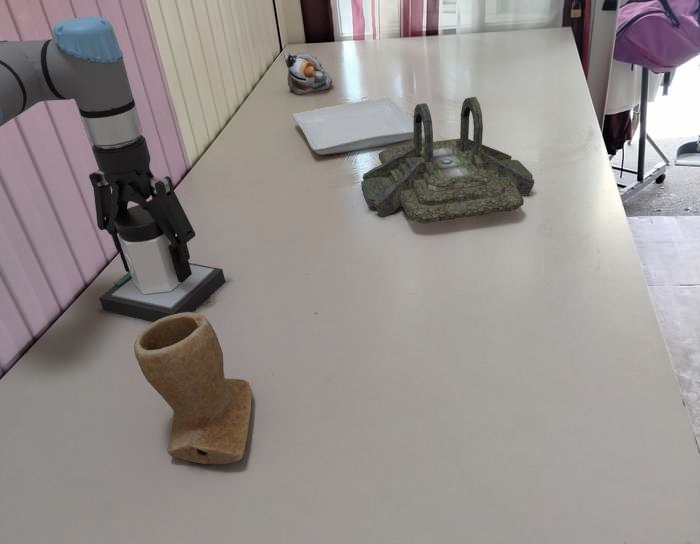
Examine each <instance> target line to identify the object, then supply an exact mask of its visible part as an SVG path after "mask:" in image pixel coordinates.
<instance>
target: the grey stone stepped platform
mask: <svg viewBox="0 0 700 544" xmlns="http://www.w3.org/2000/svg"><path fill="white" fill-rule="evenodd" d="M413 111H414V112H413V119H414V120H413V121H414V138H413V143H412V144H408V145H400V146H393V147H387V148H385V149H382V150H381V151H380V152H379V153H378V160H379V161H380V163H381V164H379V165H377V166H375V167H373V168H372V169H370V170H368V171H366V172H365V173H363V175H362V181H361V182H360V185H361V186H360V187H361V191H362V193H363V196H364V199H365V202H366V203H367V205H368V206H369V207H374V208H375V210H376V212H377V214H378V216H381V218H383V217H386V216H387V215H390V214H392V213H395V211H396V210H397V209H398V208H399V207H402V208H403V209H404V211H405V213H406V214H407V216H408V218H409V220H410V221H412V222H414V223H420V224H424V225H427V224H433V223H438V222H446V221H453V220H460V219H465V218H466V219H468V218H474V217H481V216H488V215H494V214H501V213H508V212H514V211H515V212H516V211H518V210H519V209H520V208H521V207H522V206H524V201H525V199H524V198H523V196H530V194H531V191H532V189H533V188H534V185H535V179H534V177H533V176H534V175H533V174H532V173H531V171H530V170H528V169H527V167H525V165H524V164H522V162H521V161H520V160H518V159H512V158H513V156H512V155H509V154H508V153H505V152H503V151H500V150H498V149H495V148H492V147H489V146H487V145H485V144H483V133H484V124H483V123H484V122H483V111H482V108H481V104H480V102H479V100H478V98H477V96H471V97H466V98H464V100H463V102H462V105H461V111H460V128H459V129H460V131H459V138H452V139H450V138H449V139H444V140H443V139H442V140H437V141H434V129H433V118H432V115H431V111H430V109H429V106H428V103H426V102H425V103H418V104H416V105H415V107H414V110H413ZM470 114H471V116H472V119H473V120H472V122H473V123H472V124H473V137H472V139H470V138H469V137H470V136H469V135H470ZM422 128H423V129H424V130H423V131H422ZM423 136H424V137H423ZM423 139H424V140H423Z"/></svg>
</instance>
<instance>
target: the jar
mask: <svg viewBox="0 0 700 544" xmlns="http://www.w3.org/2000/svg"><path fill="white" fill-rule="evenodd" d="M114 222H115V227H116V230H117V236H118V238H119V241H120V244H121V247H122V250H123V253H124V256H125V259H126V262H127V265H128V268H129V271H130V274H131V277H132V279H133V282H134V284H135V285H136V286H137V287H138V289H139V290H140V291H141V292H142V293H143V294H152V293H161V292H170V291H172V290H173V289H174V288H175V287H177V286H178V285H179V284H180V283H181V282H178V279H177V275H176V272H175V268H174V265H173V262H172V258H171V255H170V251H169V248H168V246H169V245H170V244H171V242H170V241H169V239H168V238H167V237H166V235H165V234H164V233H163V231H162V230H161V229H160V227H159V226H158V225H157V223H156V222H155V221H154V219H153V218H152V217H151V215H150V214H149V212H148V211H147V210H144V209H142V207H141V206H140V205H139V204H137V205H134V206H130V207H127V209H126V210H124V211H123V212H121V213H120V214H118V215H117V216H116V217H115V220H114ZM175 236H177V234H176V235H175Z"/></svg>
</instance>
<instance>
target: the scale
mask: <svg viewBox="0 0 700 544" xmlns="http://www.w3.org/2000/svg"><path fill="white" fill-rule="evenodd" d="M189 265H190V268H191V272H192V275H190V276H189V277H188V278H187V279H186V280H185V281H184V282H182V283H180V284H179V285H178V286H177V287H175V288H174V289H173V290H172V291H170V292H161V293H152V294H143V293H142V292H141V291H140V290H139V289H138V287H137V286H136V285H135V284H134V282H133V279H132V277H131V274H130V272H127V273H125V274H124V275H123V276H121V277H120V278H119V279H118V280H116V281H115V282H114V283H113V284H114V285H113V286H112V287H111V288H109V289H108V290H107V291H106V292H104V293H103V294H102V295H100V296H98V299H99V302H100V304H101V307H102V310H103V311H105V312H110V313H114V314H118V315H123V316H127V317H132V318H137V319H141V320H144V321H149V322H152V323H154V322H155V321H157V320H159V319H161V318H164V317H167V316H170V315H174V314H178V313H185V312H193V313H194V311H195V310H197V308H199V307H200V306H201V305H202V304H203V303H204V302H205V301H206V300H207V299H208V298H209V297H210V296H212V295H213V293H215V292H216V291H217V290H218V289H219V288H220V287H221V286H222V285H223V284H224V283H225V282H226V279H225V275H224V270H223V268H219V267H214V266H208V265H202V264H197V263H192V262H189Z"/></svg>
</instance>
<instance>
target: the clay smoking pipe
mask: <svg viewBox="0 0 700 544" xmlns="http://www.w3.org/2000/svg"><path fill="white" fill-rule="evenodd" d="M133 349H134V350H133V351H134V357H135V359H136V361H137V364H138V366H139V368H140V371H141V373H142V374H143V377H144V378H145V380H146V381H147V382H148V383H149V384H150V386H152V388H153V389H154V390H155V391H156V392H157V393H158V394H159V395H160V396H161V397H162V398H163V400H164V401H165V402H166V403H167V405H168V406H169V407H170V408H171V410H172V412H173V417H172V422H171V429H170V436H169V441H168V445H167V454H168V455H169V456H171V457H175V458H178V459H181V460H184V461H187V462H193V463H196V464H197V463H198V464H200V465H201V464H202V465H207V464H210V465H225V464H226V465H228V464H233V463H236V462H239V461H241V460H242V459H243V457H244V455H245V450H246V444H247V441H248V433H249V425H250V419H251V413H252V397H253V396H252V395H253V394H252V393H253V392H252V387H251V385H250V382H249V381H247V380H245V379H242V378H241V379H240V378H225V370H224V352H223V349H222V347H221V344H220V341H219V338H218V336H217V333H216V331H215V329H214V327H213V325H212V323H211V322H210V320H208V318H207V317H206V316H204V315H203V314H200V313H197V312H194V311H193V312H185V313H178V314H174V315H170V316H167V317H164V318H161V319H159V320H157V321H155V322H152V323H150V324H149V325H147V326H146V327H145V328H143V329H142V330H141V331H140V332H139V333H138V334H137V336H136V339H135V341H134V346H133Z"/></svg>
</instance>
